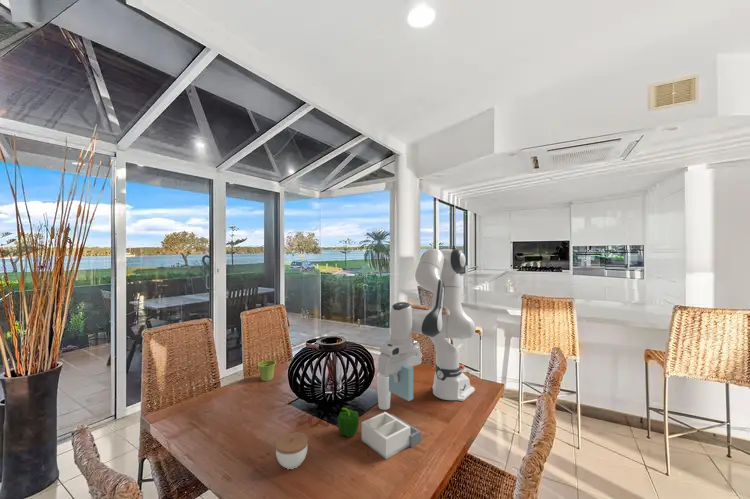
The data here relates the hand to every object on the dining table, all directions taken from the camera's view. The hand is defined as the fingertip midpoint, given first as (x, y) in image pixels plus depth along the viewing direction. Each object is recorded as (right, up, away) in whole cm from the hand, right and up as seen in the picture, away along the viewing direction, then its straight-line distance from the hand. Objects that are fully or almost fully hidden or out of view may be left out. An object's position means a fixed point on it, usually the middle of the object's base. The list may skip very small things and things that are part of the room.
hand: (400, 380), depth 128 cm
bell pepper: (-20, -22, +2) cm, 30 cm away
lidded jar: (-38, -22, -16) cm, 47 cm away
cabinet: (-4, -22, -3) cm, 22 cm away
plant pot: (-69, -20, +52) cm, 89 cm away
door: (0, -6, 0) cm, 6 cm away
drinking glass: (-6, -21, +22) cm, 31 cm away
